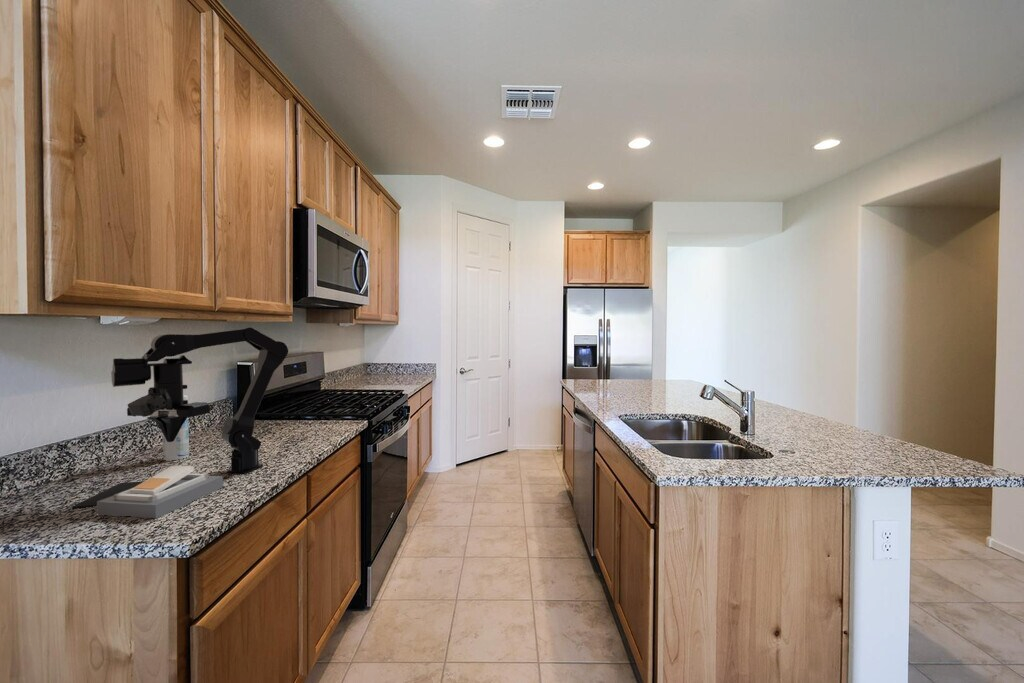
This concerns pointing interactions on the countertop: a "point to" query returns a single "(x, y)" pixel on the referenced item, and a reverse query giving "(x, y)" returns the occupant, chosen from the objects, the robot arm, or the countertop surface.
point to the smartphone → (107, 494)
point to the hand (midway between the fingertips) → (170, 441)
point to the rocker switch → (162, 480)
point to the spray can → (177, 443)
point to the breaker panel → (160, 498)
